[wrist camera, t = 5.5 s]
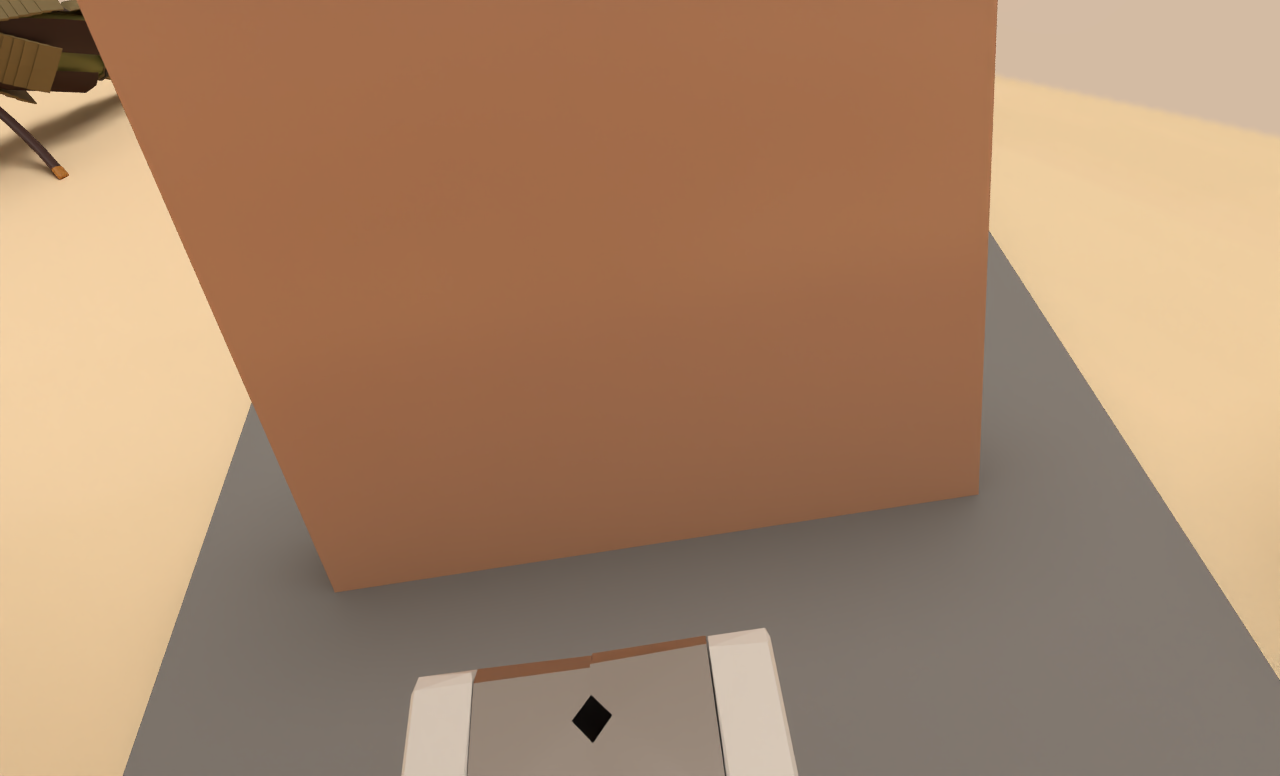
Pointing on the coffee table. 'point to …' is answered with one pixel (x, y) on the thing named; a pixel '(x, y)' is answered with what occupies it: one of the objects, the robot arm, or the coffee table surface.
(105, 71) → the samurai figurine
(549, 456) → the tile
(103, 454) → the coffee table surface
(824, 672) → the mat
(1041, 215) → the coffee table surface
